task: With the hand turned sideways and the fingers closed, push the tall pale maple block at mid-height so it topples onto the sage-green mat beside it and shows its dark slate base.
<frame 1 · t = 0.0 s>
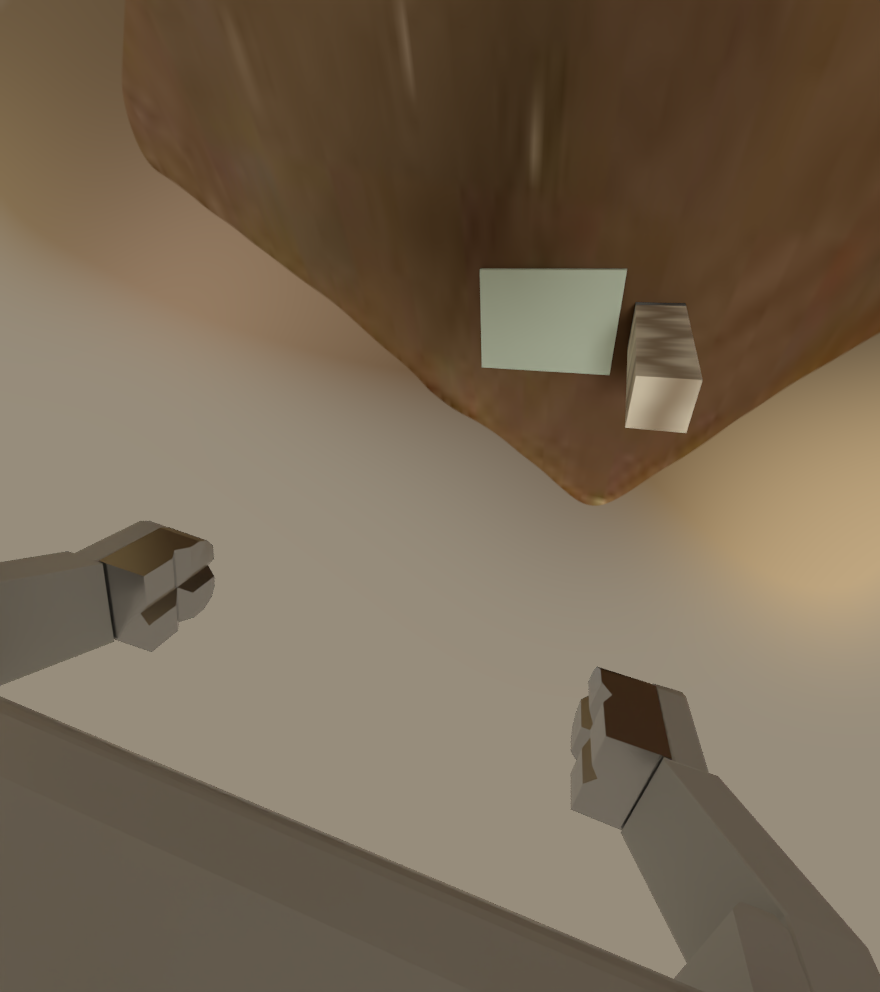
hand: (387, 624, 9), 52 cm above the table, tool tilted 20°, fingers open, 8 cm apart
maple block: (655, 325, 52), on the table
sage mat: (547, 322, 56), on the table
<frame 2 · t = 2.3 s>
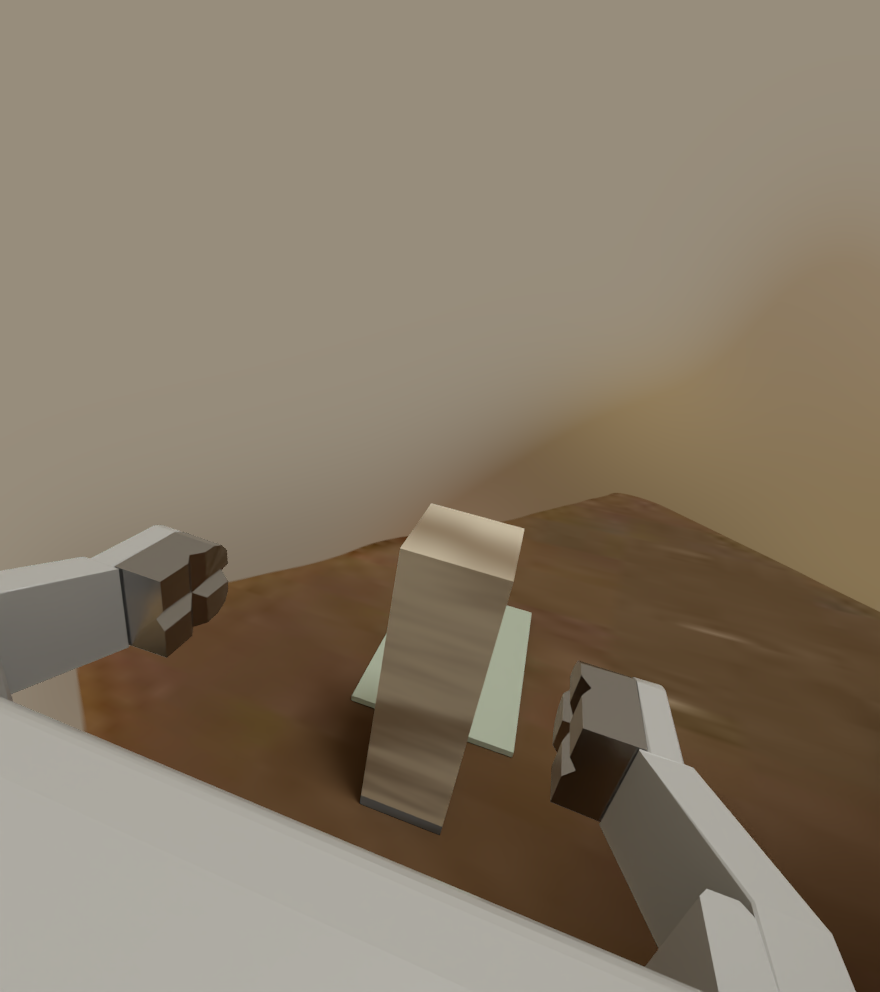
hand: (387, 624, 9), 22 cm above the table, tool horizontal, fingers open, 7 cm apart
maple block: (412, 779, 30), on the table
sage mat: (454, 652, 40), on the table
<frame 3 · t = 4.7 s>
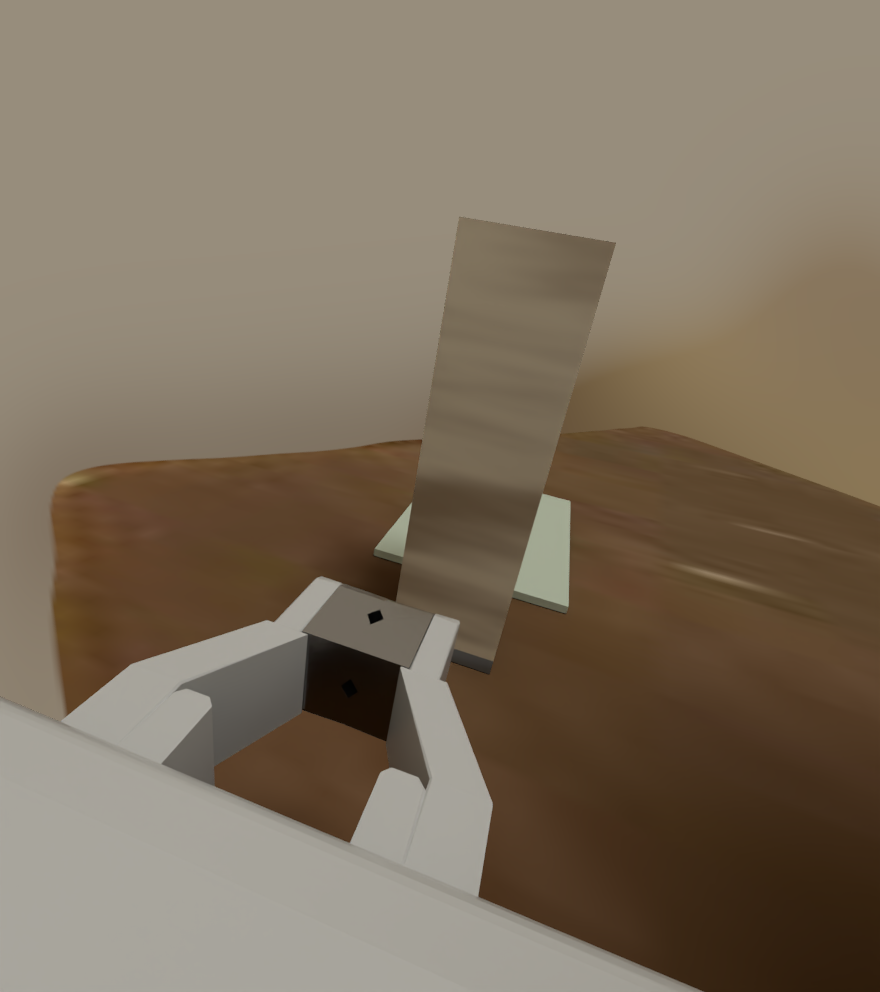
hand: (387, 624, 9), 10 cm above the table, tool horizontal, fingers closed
maple block: (450, 624, 24), on the table
sage mat: (488, 526, 35), on the table
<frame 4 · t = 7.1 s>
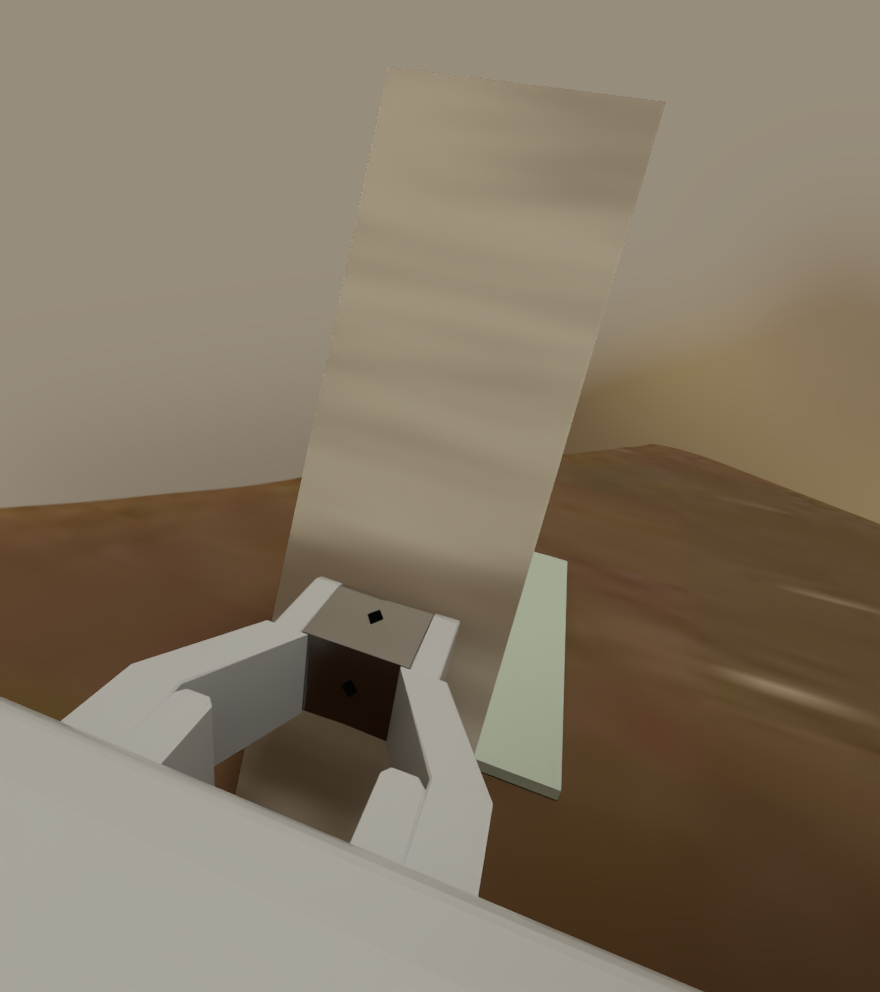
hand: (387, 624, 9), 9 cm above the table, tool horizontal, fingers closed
maple block: (351, 836, 13), point 1 cm above the table, tilted 16°
sage mat: (447, 611, 24), on the table
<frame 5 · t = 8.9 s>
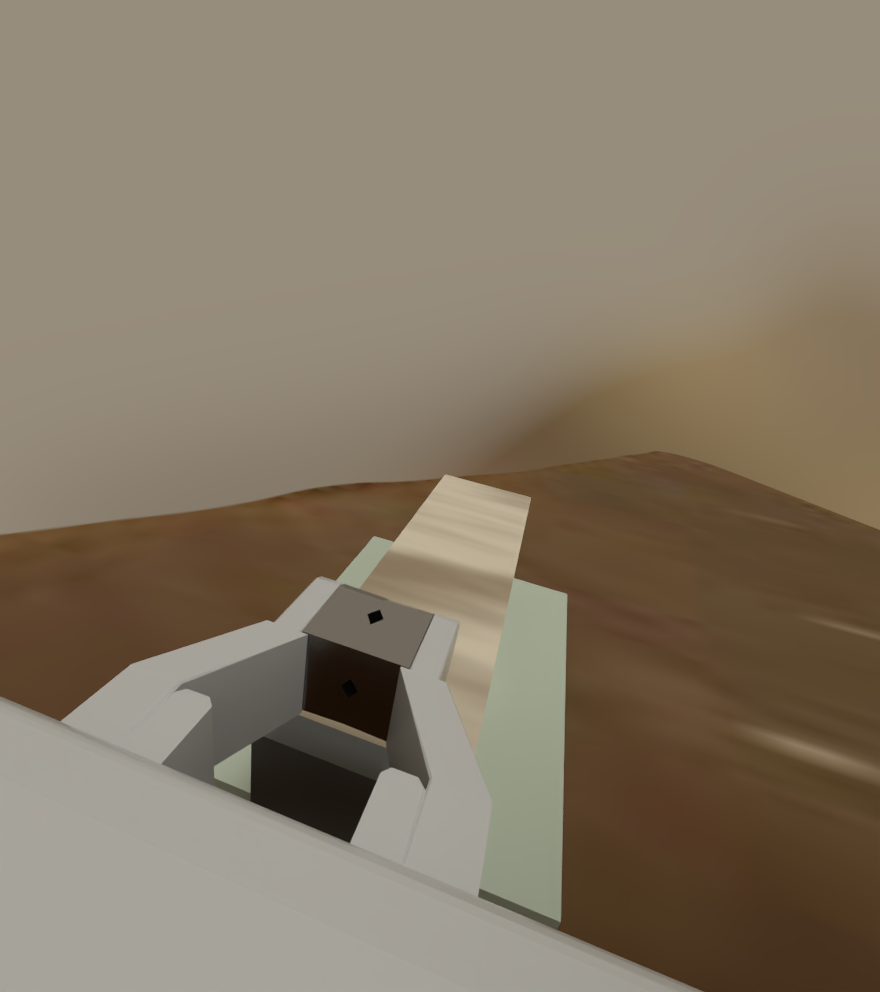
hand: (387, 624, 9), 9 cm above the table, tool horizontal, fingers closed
maple block: (342, 838, 11), point 3 cm above the table, tilted 90°, touching sage mat
sage mat: (429, 661, 21), on the table
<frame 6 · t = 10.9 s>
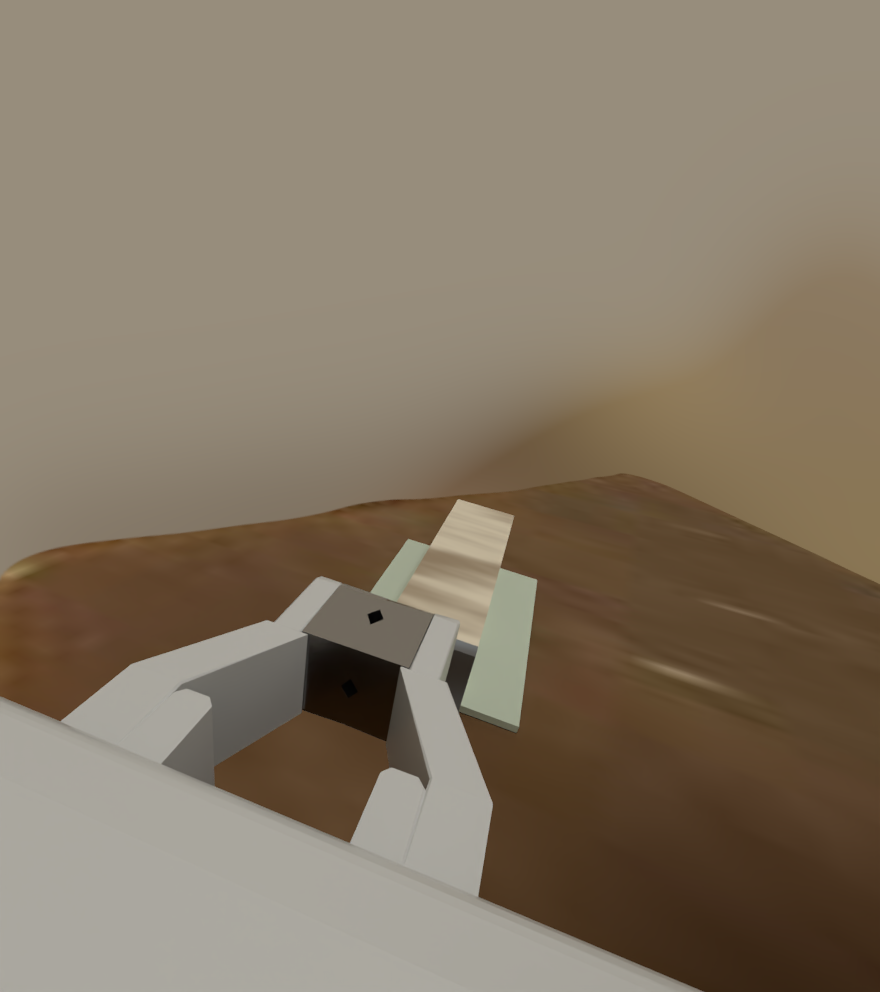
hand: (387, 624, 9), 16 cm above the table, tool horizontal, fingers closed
maple block: (419, 676, 25), point 3 cm above the table, tilted 90°, touching sage mat
sage mat: (449, 616, 35), on the table
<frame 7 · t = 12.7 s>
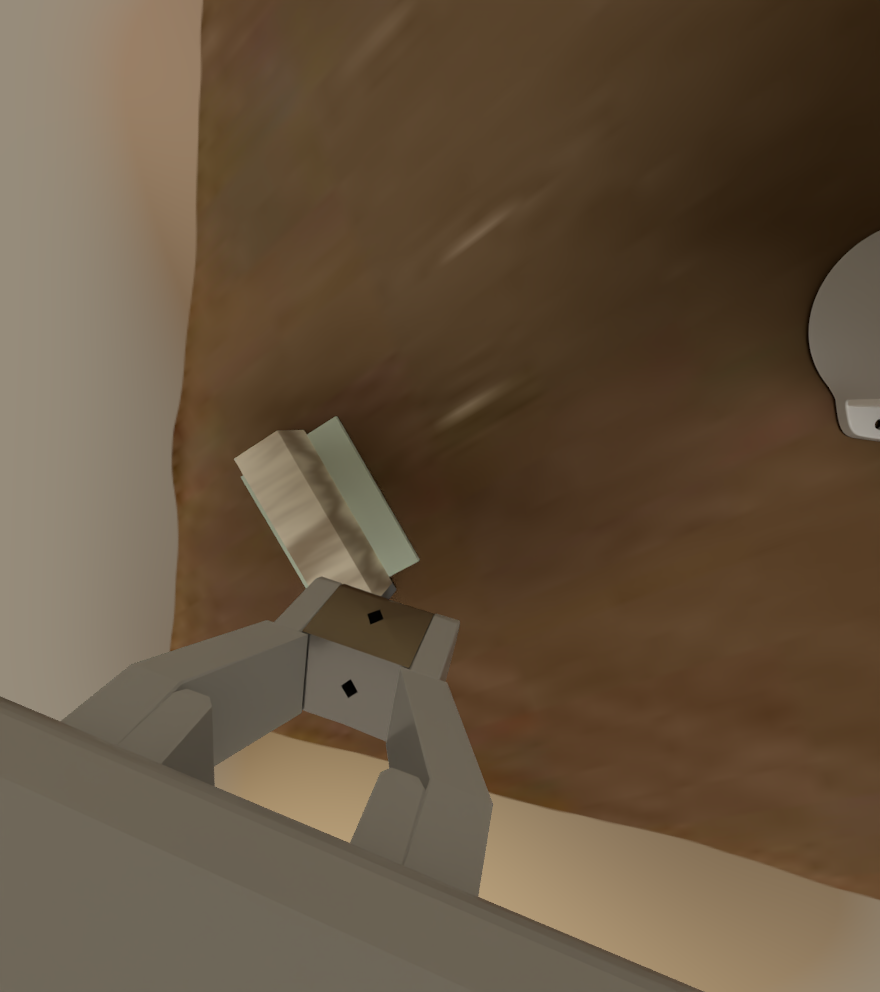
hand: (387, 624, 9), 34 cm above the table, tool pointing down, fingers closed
maple block: (367, 610, 44), point 3 cm above the table, tilted 90°, touching sage mat
sage mat: (329, 517, 47), on the table
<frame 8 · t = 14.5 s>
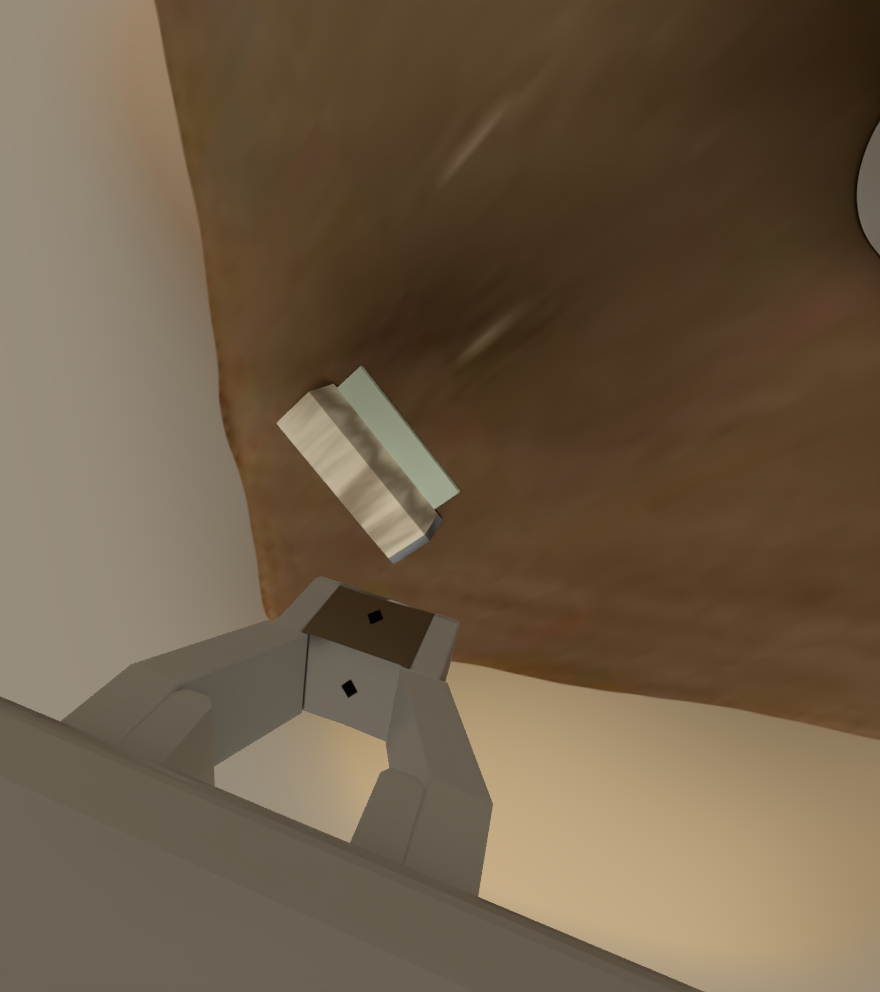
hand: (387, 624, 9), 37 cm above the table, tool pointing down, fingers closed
maple block: (418, 541, 49), point 3 cm above the table, tilted 90°, touching sage mat
sage mat: (372, 461, 50), on the table
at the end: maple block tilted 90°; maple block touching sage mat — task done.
